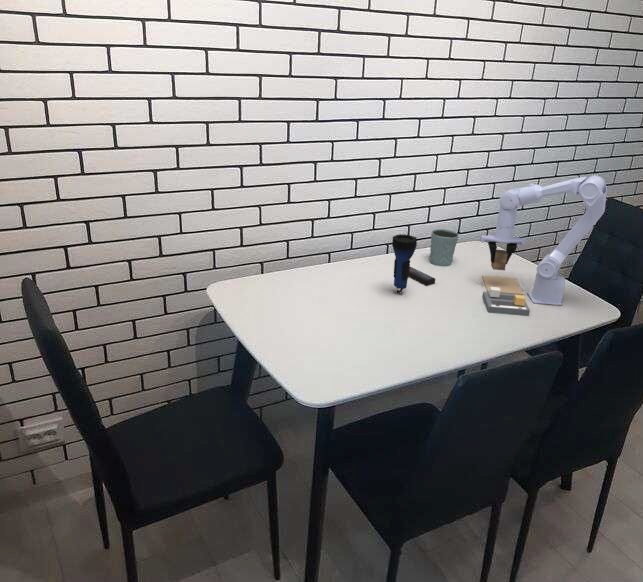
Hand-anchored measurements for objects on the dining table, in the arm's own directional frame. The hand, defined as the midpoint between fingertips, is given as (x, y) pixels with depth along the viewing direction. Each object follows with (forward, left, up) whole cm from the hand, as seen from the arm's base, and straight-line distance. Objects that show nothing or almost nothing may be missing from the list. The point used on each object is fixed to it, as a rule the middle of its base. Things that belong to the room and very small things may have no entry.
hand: (498, 262), depth 201 cm
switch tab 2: (-4, +18, -7) cm, 20 cm away
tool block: (0, 0, -2) cm, 2 cm away
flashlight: (+34, +12, -10) cm, 38 cm away
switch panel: (-1, +15, -9) cm, 18 cm away
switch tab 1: (+3, +13, -7) cm, 15 cm away
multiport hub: (+27, -3, -10) cm, 29 cm away
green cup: (+17, -21, -10) cm, 28 cm away
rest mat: (-3, -2, -9) cm, 10 cm away
